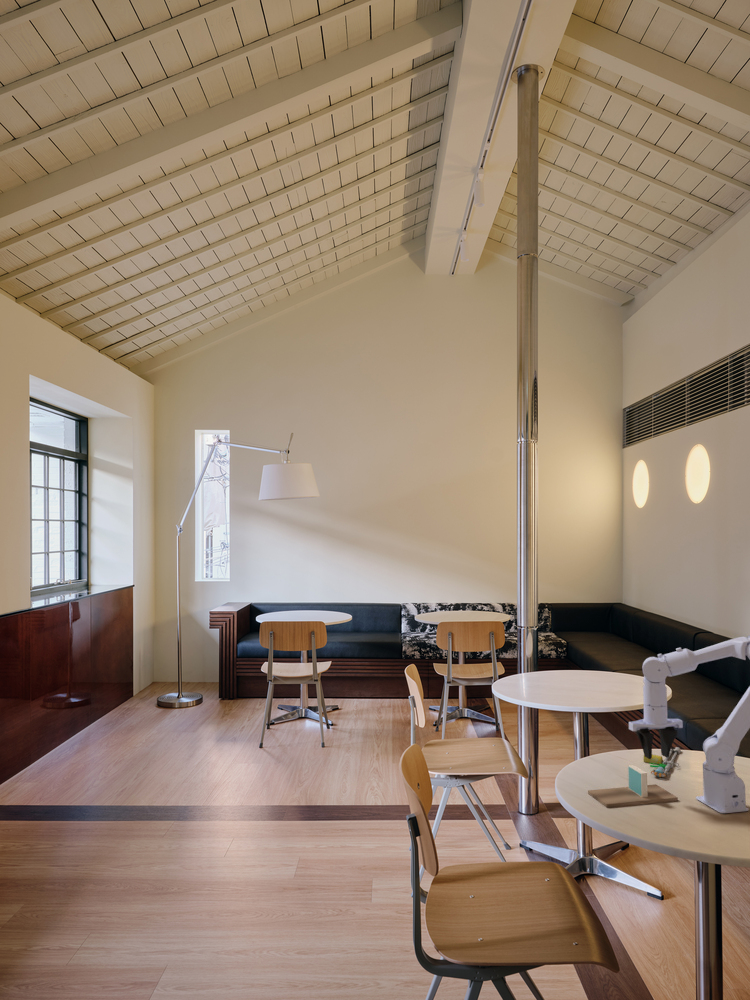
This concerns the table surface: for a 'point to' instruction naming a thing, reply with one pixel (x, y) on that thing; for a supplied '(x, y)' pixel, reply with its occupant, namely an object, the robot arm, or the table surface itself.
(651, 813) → the table surface
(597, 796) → the board
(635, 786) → the tile
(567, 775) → the table surface
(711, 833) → the table surface
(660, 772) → the flamethrower
